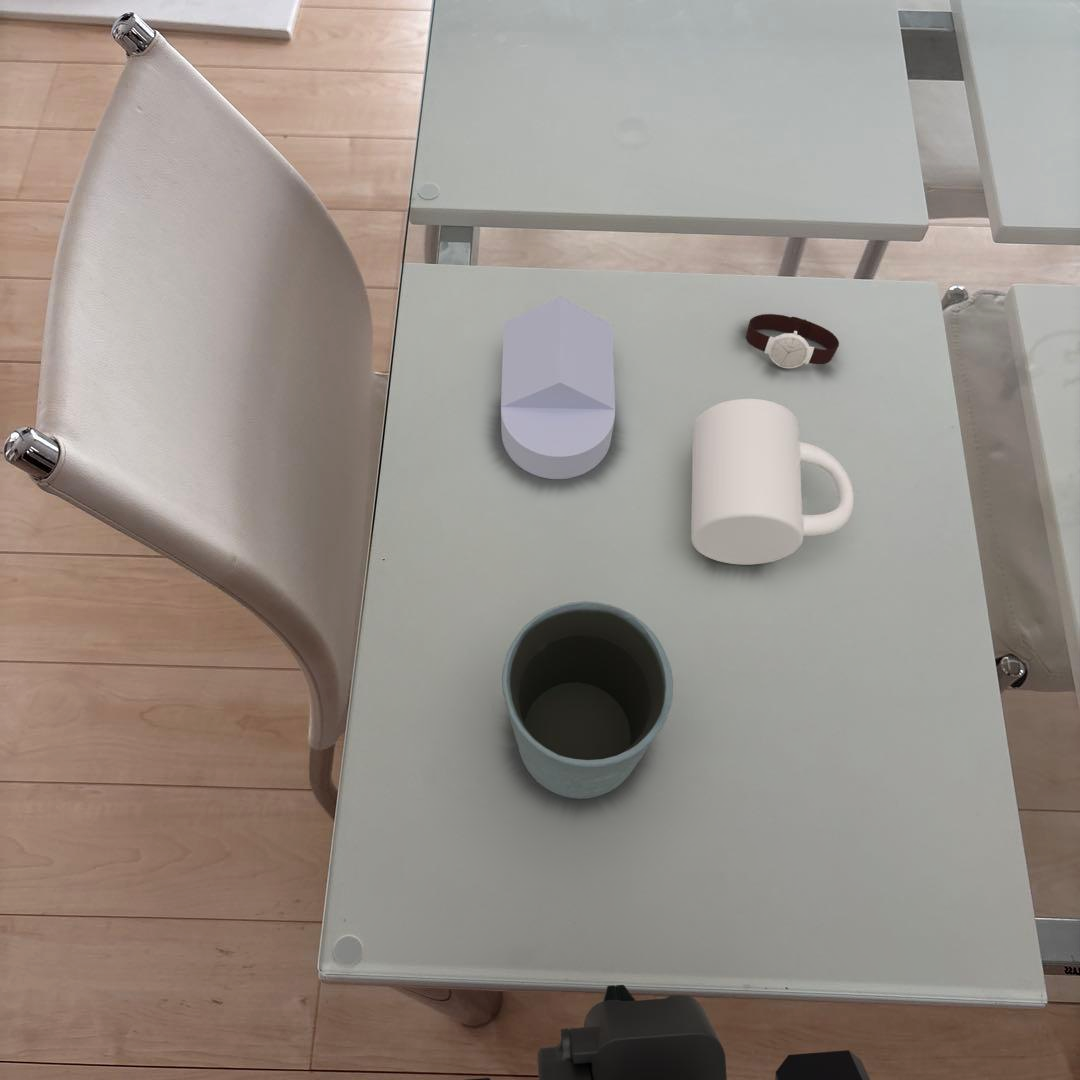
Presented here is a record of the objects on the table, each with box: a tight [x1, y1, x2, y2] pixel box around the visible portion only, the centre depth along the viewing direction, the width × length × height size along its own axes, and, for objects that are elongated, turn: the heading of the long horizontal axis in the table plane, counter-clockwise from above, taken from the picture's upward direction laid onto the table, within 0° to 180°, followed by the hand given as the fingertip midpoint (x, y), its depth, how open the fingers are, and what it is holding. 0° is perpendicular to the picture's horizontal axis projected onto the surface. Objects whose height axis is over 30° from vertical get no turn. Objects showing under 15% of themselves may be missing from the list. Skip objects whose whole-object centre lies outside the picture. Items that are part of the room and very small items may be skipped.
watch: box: [745, 313, 840, 369], centre depth 81 cm, size 8×5×4 cm, turn 73°
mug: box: [690, 398, 855, 566], centre depth 72 cm, size 12×10×8 cm
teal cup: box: [501, 600, 674, 800], centre depth 61 cm, size 10×10×12 cm
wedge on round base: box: [500, 295, 616, 480], centre depth 76 cm, size 9×7×13 cm
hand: (615, 991), depth 47 cm, fingers closed
